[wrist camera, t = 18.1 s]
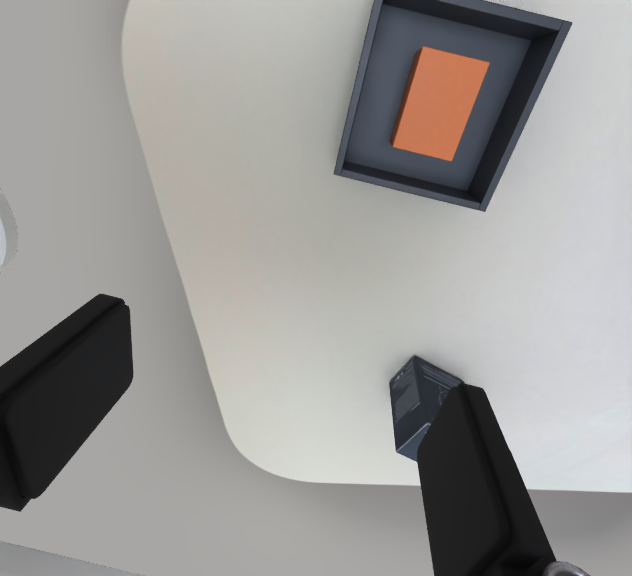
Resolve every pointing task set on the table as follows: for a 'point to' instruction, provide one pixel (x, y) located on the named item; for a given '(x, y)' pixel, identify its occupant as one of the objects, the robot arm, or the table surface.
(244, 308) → the table surface
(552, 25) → the tray
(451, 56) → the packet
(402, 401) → the box
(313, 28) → the table surface
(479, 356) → the table surface
